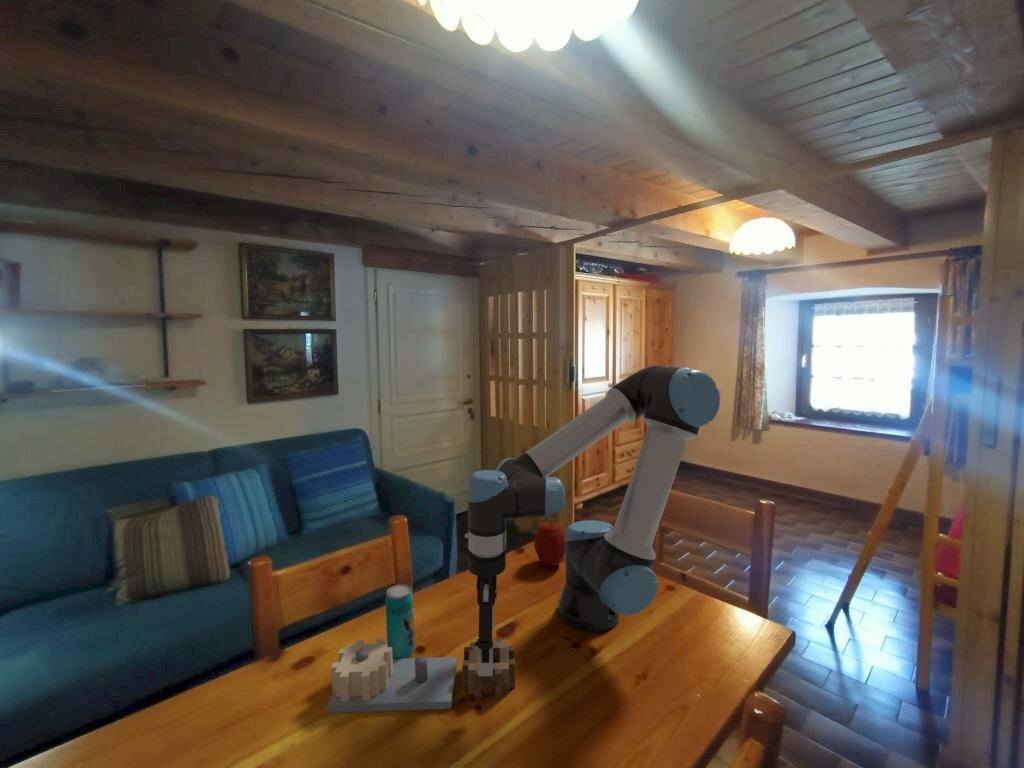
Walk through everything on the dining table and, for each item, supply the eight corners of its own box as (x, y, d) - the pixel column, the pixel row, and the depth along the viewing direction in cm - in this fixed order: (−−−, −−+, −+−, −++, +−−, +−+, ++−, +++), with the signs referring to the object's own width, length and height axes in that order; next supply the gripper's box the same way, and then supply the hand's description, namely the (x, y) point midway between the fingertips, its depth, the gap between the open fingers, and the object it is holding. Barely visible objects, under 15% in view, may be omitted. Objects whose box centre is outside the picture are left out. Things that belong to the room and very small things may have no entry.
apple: (571, 570, 136) (571, 525, 135) (538, 573, 135) (538, 528, 133) (562, 554, 147) (562, 512, 145) (531, 557, 145) (530, 514, 143)
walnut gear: (514, 659, 99) (513, 637, 99) (515, 697, 89) (515, 673, 88) (465, 660, 99) (465, 639, 99) (461, 698, 89) (461, 674, 88)
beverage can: (408, 666, 98) (405, 599, 96) (383, 662, 99) (380, 596, 97) (418, 648, 103) (416, 584, 102) (395, 645, 104) (392, 582, 103)
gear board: (457, 663, 98) (456, 630, 98) (451, 708, 86) (450, 671, 86) (347, 666, 98) (345, 633, 97) (326, 712, 86) (324, 675, 85)
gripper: (471, 524, 103) (471, 613, 105) (462, 583, 79) (462, 698, 81) (505, 524, 104) (504, 613, 106) (506, 583, 79) (505, 697, 81)
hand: (486, 650), depth 93 cm, fingers open, 13 cm apart
